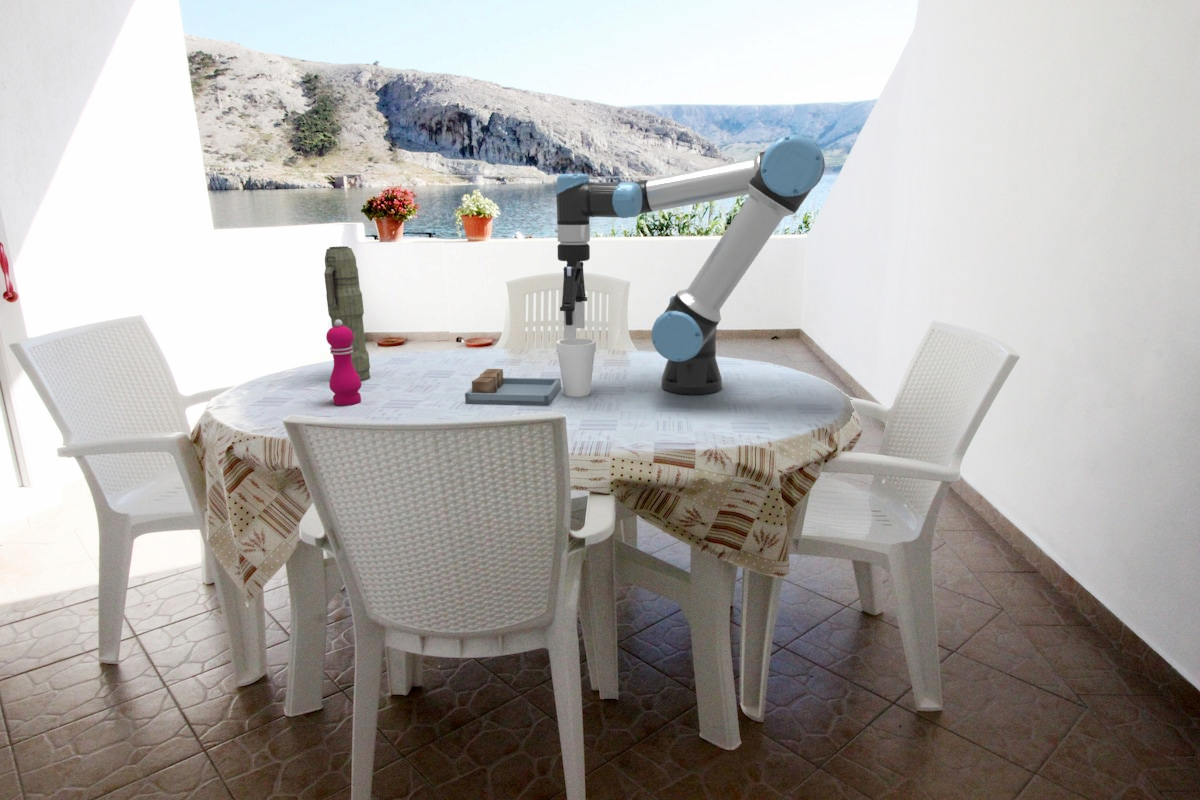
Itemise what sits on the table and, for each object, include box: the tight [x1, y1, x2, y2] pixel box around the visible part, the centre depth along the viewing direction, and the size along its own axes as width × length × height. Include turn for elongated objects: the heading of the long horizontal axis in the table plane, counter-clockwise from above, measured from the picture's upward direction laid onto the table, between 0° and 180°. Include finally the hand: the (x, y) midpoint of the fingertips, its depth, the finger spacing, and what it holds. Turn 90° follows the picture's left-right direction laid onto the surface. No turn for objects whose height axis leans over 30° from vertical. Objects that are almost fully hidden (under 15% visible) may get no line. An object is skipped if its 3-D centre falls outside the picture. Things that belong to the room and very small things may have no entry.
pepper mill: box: [325, 319, 362, 407], centre depth 169 cm, size 7×7×20 cm
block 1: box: [471, 376, 495, 393], centre depth 171 cm, size 4×4×4 cm
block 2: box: [478, 372, 498, 393], centre depth 175 cm, size 4×4×4 cm
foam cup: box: [555, 337, 597, 398], centre depth 174 cm, size 10×9×13 cm
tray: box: [464, 377, 562, 406], centre depth 175 cm, size 20×16×2 cm
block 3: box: [482, 368, 504, 388], centre depth 179 cm, size 4×4×4 cm
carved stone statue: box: [323, 245, 371, 382], centre depth 188 cm, size 9×12×35 cm
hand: (574, 333), depth 172 cm, fingers open, 13 cm apart
